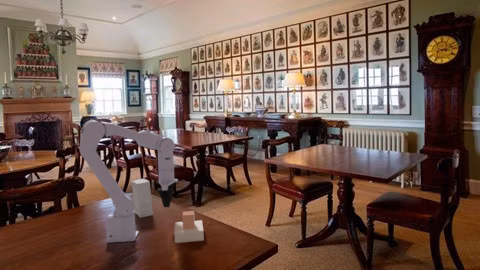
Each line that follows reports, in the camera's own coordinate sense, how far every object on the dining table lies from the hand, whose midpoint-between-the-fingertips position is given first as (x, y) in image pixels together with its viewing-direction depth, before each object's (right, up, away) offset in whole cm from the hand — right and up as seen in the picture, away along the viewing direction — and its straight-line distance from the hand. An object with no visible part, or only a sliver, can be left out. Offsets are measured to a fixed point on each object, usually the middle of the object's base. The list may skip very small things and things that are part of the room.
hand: (167, 203), depth 129 cm
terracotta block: (+9, -7, -6) cm, 13 cm away
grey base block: (+9, -11, -6) cm, 15 cm away
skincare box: (-15, -8, +18) cm, 24 cm away
